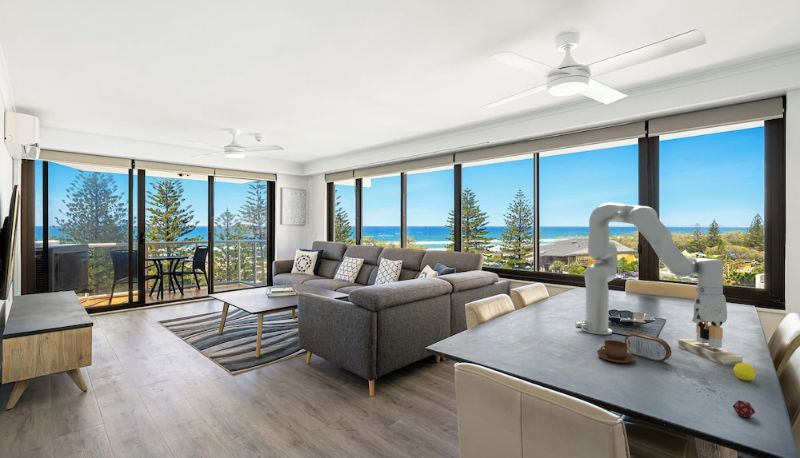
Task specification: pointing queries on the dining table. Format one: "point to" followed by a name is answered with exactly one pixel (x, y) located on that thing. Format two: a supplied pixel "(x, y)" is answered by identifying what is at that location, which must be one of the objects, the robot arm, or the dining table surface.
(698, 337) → the light orange block
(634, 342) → the tin
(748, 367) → the lemon
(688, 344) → the rail
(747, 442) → the dining table surface
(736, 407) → the dice
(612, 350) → the cup and saucer
